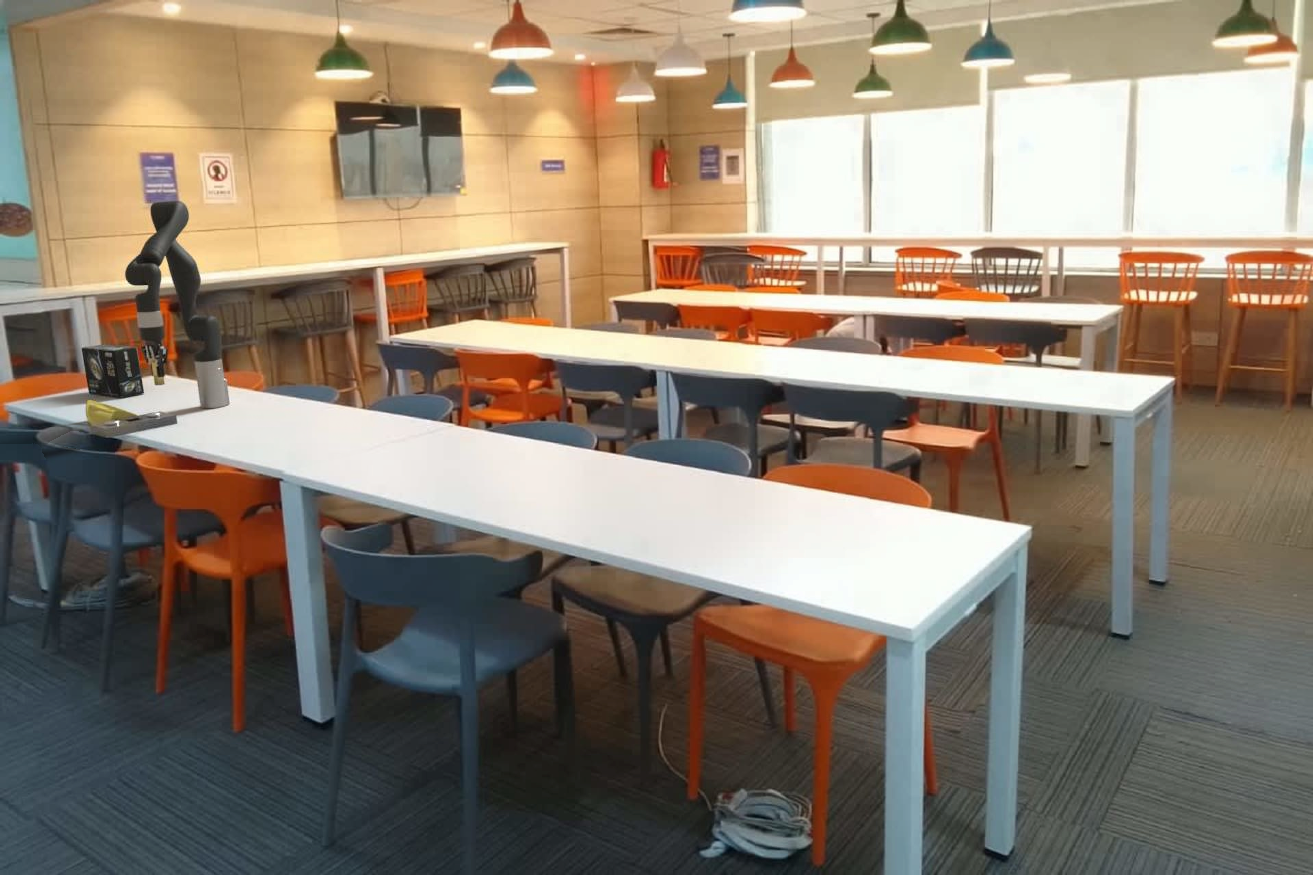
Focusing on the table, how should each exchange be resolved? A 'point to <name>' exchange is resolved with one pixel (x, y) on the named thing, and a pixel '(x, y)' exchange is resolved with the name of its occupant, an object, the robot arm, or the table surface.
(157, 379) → the pin
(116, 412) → the plastic component
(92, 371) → the box
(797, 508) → the table surface
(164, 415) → the grey slotted plate
